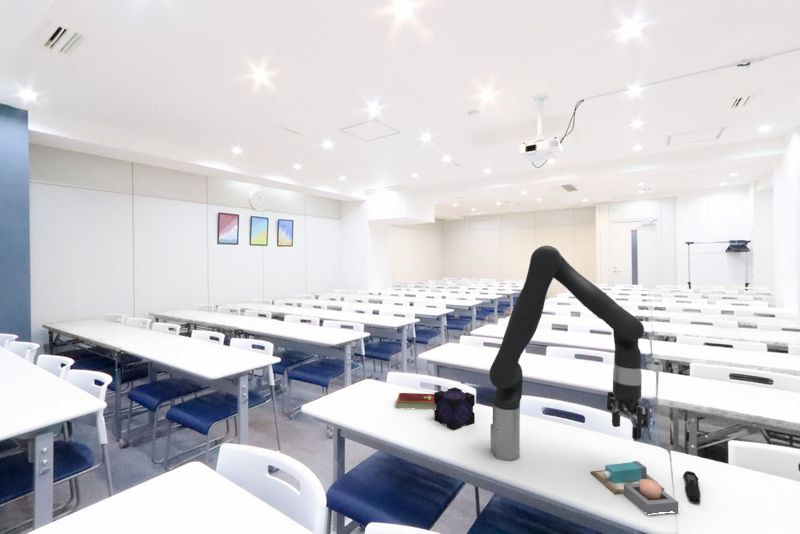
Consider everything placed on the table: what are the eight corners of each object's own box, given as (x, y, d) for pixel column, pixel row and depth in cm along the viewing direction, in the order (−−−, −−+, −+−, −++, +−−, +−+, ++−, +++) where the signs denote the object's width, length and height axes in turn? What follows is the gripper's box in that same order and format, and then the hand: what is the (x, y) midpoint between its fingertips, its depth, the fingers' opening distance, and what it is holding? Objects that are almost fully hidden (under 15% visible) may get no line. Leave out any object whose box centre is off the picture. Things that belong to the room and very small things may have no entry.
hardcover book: (399, 400, 183) (399, 391, 183) (441, 401, 181) (441, 393, 181) (396, 410, 171) (396, 401, 171) (442, 411, 169) (442, 402, 169)
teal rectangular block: (637, 472, 117) (637, 460, 117) (646, 479, 113) (646, 467, 113) (601, 477, 115) (600, 465, 115) (609, 484, 112) (608, 472, 112)
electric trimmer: (685, 503, 105) (685, 492, 105) (682, 476, 117) (682, 467, 117) (702, 508, 103) (702, 497, 103) (698, 480, 115) (698, 470, 115)
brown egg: (649, 501, 101) (649, 490, 101) (635, 489, 106) (635, 479, 106) (665, 499, 102) (665, 488, 102) (651, 488, 107) (651, 478, 107)
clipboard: (614, 494, 108) (614, 490, 108) (590, 473, 119) (590, 469, 119) (664, 490, 110) (664, 485, 110) (636, 469, 121) (636, 465, 121)
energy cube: (474, 423, 156) (474, 395, 156) (453, 430, 149) (453, 401, 149) (454, 413, 166) (455, 387, 166) (434, 420, 159) (434, 392, 159)
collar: (648, 515, 99) (648, 504, 99) (623, 494, 108) (623, 484, 108) (678, 512, 100) (678, 501, 100) (651, 492, 109) (651, 482, 109)
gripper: (656, 387, 108) (655, 443, 108) (621, 373, 122) (620, 421, 122) (633, 388, 107) (632, 444, 107) (600, 373, 121) (599, 423, 121)
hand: (625, 432), depth 115 cm, fingers open, 8 cm apart
